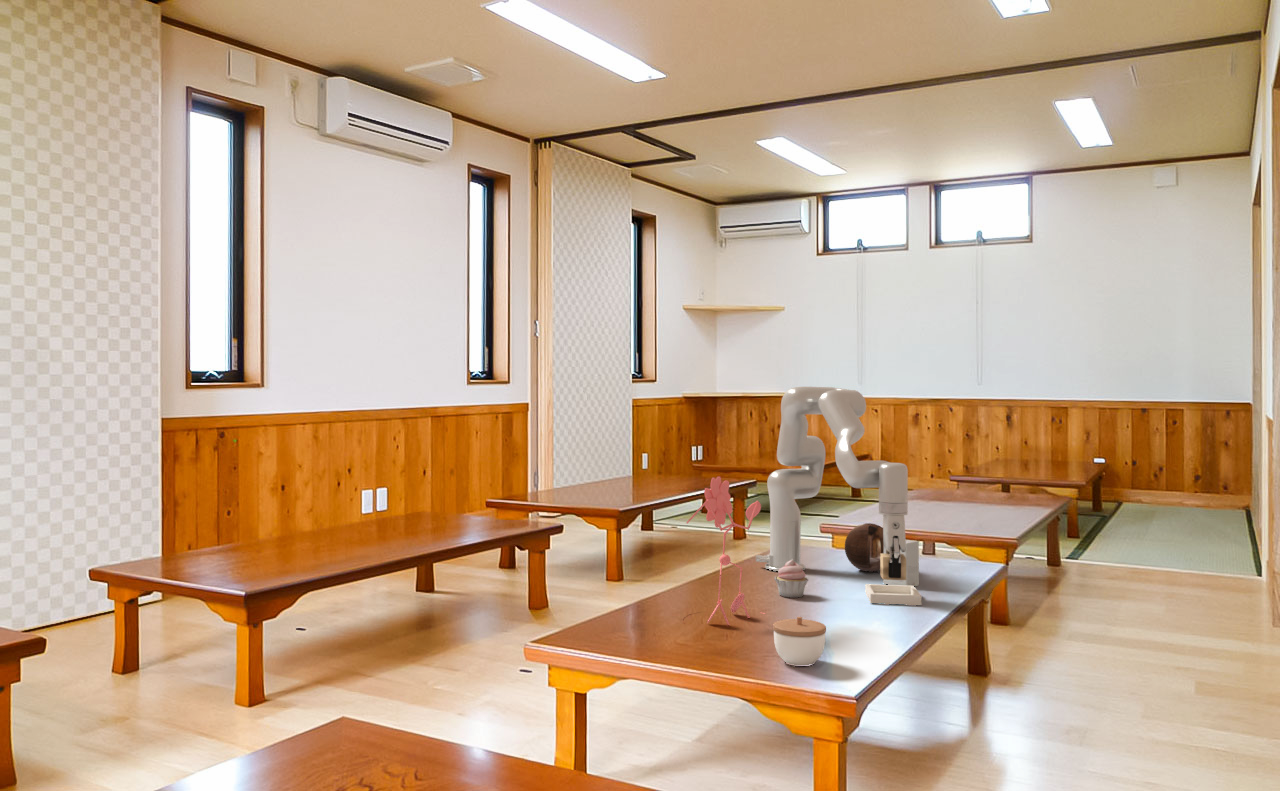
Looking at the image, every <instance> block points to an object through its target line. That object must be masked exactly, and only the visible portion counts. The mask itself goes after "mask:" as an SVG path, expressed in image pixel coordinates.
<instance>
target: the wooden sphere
mask: <svg viewBox="0 0 1280 791" xmlns="http://www.w3.org/2000/svg"><path fill="white" fill-rule="evenodd" d="M844 552H845V555H846V558H847V560H848V561H849V563H850V564H851V565H852V566H854V567H855V568H857V569H858V570H860V571H863V572H867V571H869V572H868V573H870V572H871V573H872V572H873V571H874V572H878V571H880V553H883V554H884V543H883V526H880V525H878V524H876V523H870V522H869V523H867V522H866V523H861V524H859V525H856V526H854V527H853V528H852V529H851V530H850V531H849V533H848V534H847V535H846V538H845V541H844Z"/></svg>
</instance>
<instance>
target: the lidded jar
mask: <svg viewBox="0 0 1280 791" xmlns="http://www.w3.org/2000/svg"><path fill="white" fill-rule="evenodd" d="M772 629H773V642H774V647H775V651H776V653H777V654H778V656H779V658H781V659H782V660H783V661H785V662H786V663H789V664H794V665H809V664H813V663H814V664H815V663H816V662H817V661H818V660H819V659H820V658H821V656H822V654H823V652H824V648H825V644H826V632H827V626H826V625H825V624H824V623H822V622H820V621H816V620H812V619H803V617H802V616H796V618H787V619H781V620H778V621H775V622H774V623H773V624H772ZM785 662H784V663H785Z"/></svg>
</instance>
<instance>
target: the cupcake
mask: <svg viewBox="0 0 1280 791" xmlns="http://www.w3.org/2000/svg"><path fill="white" fill-rule="evenodd" d="M777 574H778V576H774V580H775V583H776V584H777V590H778V594H779V596H780V595H781V596H780V597H782V596H783V597H782V598H786V597H790V599H798V597H799V598H802V597H803V596H804V593H805V588H806V585H807V583H808V581H809V578H808V577H806V572H805V570H804V571H803V570H802V567H801V566H800V565H799V564H797V563H796V562H794V561H793V560H790V561H788V562H787V563H786V564H785V566H784V567H782V568H780V569H779V571H778V572H777Z"/></svg>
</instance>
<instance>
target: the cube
mask: <svg viewBox="0 0 1280 791" xmlns="http://www.w3.org/2000/svg"><path fill="white" fill-rule="evenodd" d="M900 557H901V578H890V577H889V562H890V557H889V554H883V553H880V570H879V571H880V572H879V573H880V577H881V578H882V580H906V557H905V556H904V555H903V554H900Z"/></svg>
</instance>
